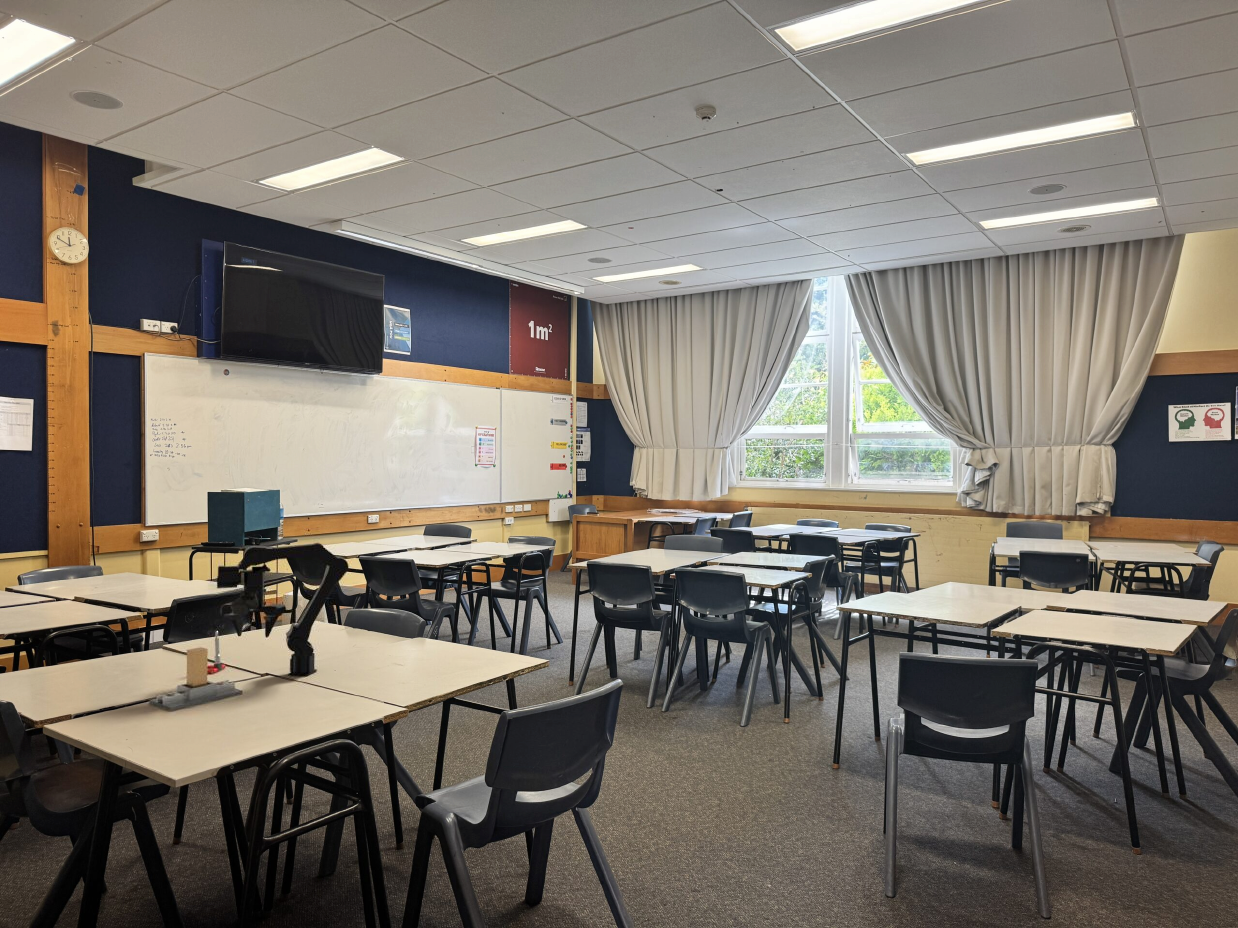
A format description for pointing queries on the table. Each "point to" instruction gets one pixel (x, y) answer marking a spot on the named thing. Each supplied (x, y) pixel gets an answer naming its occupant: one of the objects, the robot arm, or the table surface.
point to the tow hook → (216, 658)
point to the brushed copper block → (197, 667)
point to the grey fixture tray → (195, 695)
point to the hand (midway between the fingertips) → (253, 636)
